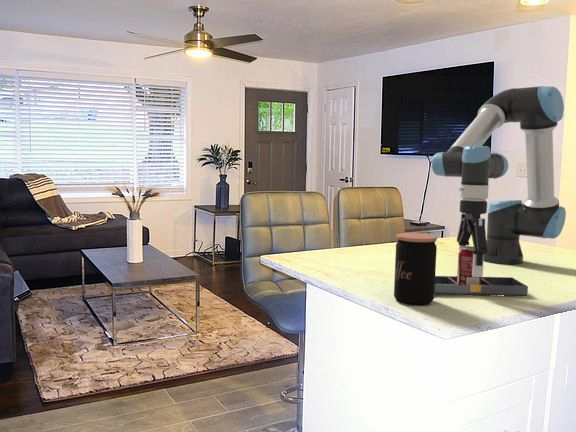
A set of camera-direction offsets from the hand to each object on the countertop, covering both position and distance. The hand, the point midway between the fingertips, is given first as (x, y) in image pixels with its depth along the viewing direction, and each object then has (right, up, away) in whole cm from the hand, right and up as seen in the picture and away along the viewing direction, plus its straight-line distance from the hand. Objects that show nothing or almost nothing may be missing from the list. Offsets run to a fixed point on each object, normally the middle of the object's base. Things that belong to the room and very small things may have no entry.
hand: (469, 271), depth 163 cm
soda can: (0, -5, +1) cm, 5 cm away
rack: (0, -6, +1) cm, 6 cm away
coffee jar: (-19, -7, -12) cm, 24 cm away
